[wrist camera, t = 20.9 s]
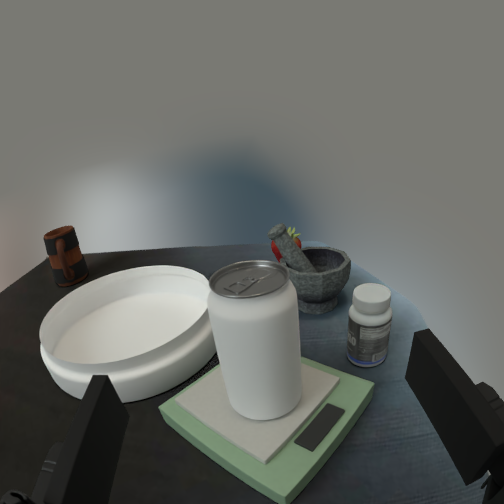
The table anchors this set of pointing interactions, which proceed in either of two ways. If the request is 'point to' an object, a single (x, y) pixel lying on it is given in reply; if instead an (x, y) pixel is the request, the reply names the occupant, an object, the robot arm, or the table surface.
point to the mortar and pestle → (312, 271)
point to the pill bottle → (369, 325)
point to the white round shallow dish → (130, 332)
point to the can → (257, 337)
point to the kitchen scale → (271, 428)
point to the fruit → (294, 237)
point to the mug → (65, 256)
